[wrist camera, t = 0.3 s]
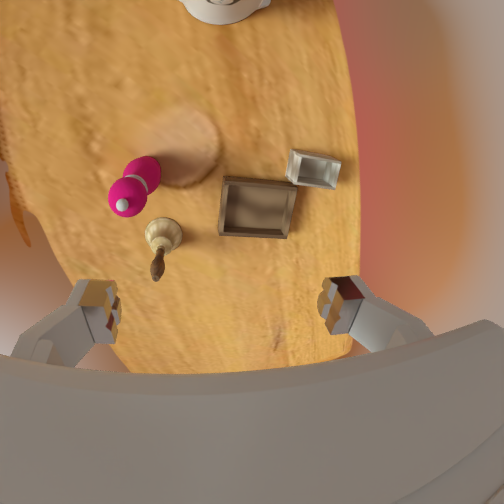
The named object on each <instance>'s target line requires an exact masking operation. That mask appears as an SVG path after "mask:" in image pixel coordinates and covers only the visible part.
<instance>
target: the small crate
mask: <svg viewBox="0 0 504 504" xmlns="http://www.w3.org/2000/svg"><path fill="white" fill-rule="evenodd" d="M340 167H341V161H339V160H337V159H335V158H333V157H331V156H328V155H323V154H318V153H312V152H306V151H301V150H294V149H290V153H289V159H288V164H287V170H286V175H285V177H286V178H288V179H289V180H290V181H291V182H292V183H293V184H295V185H303V186H310V187H318V188H325V189H332V190H335V188H336V184H337V180H338V175H339V171H340Z"/></svg>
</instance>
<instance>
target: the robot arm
mask: <svg viewBox="0 0 504 504" xmlns="http://www.w3.org/2000/svg"><path fill="white" fill-rule="evenodd" d="M179 1H181V2H182V3H183V4H184V5H185V7H186V9H187V10H188V12H189V13H190V14H191V15H192V16H194V17H195V18H197V19H199V20H201V21H203V22H206V23H210V24H218V25H223V24H231V23H235V22H238V21H241V20H243V19H245V18H246V17H248V16H249V15H250V14H251V13H253V12H254V11H255V10H257V9H261V8H264V7H267V6H268V5H269V4H270V2H271V0H179ZM322 288H323V291H322V292H321V293H320V294H319V297H318V301H317V308H318V312H319V314H320V316H321V317H322V318H324V319H326V322H325V325H326V327H327V329H328V331H329V333H330V335H336V334H345V333H349V335H350V336H352V337H353V338H354V339H356V340H357V341H358V342H359V343H361V344H362V345H363V346H364V347H366V348H367V349H368V350H370V351H371V352H372V353H368V354H363V355H359V356H354V357H349V358H344V359H339V360H332V361H326V362H320V363H314V364H307V365H300V366H292V367H284V368H275V369H265V370H255V371H242V372H227V373H205V374H148V373H126V372H111V371H99V370H89V369H80V368H74V367H75V366H76V365H77V364H78V362H79V361H80V360H81V359H82V358H83V357H84V356H85V355H86V354H87V352H88V351H89V350H90V349H91V348H92V347H93V346H94V345H95V343H102V344H115V342H116V338H117V334H118V329H117V325H118V324H119V323H120V321H121V312H122V309H121V302H120V298H119V297H118V296H117V295H116V294H117V291H118V288H117V284H116V282H115V280H97V279H79V280H78V281H77V283H76V285H75V287H74V289H73V291H72V292H71V295H70V297H69V299H68V301H67V303H66V305H62V306H60V307H59V308H57V309H56V310H54V311H53V312H51V313H50V314H49V315H47V316H46V317H44V318H43V319H42V320H40V321H39V322H37V323H36V324H35V325H33V326H32V327H30V328H29V329H28V330H26V331H25V332H24V333H22V334H21V335H20V337H19V339H18V341H17V343H16V345H15V347H14V349H13V352H12V354H11V356H10V357H9V356H6V355H2V354H0V504H504V328H502V327H500V326H499V325H497V324H495V323H493V322H491V321H489V320H480V321H477V322H475V323H472V324H470V325H467V326H464V327H461V328H458V329H455V330H452V331H449V332H446V333H443V334H440V335H437V336H434V335H433V333H432V332H431V331H430V330H429V328H428V327H427V326H426V324H425V323H424V322H423V321H422V320H421V319H419V318H417V317H415V316H413V315H411V314H410V313H408V312H406V311H404V310H402V309H400V308H398V307H396V306H395V305H393V304H391V303H389V302H387V301H385V300H383V299H381V298H379V297H377V298H376V297H375V295H374V294H373V293H372V292H371V290H370V289H369V288H368V287H367V285H366V284H365V283H364V282H363V280H362V279H361V278H360V277H359V276H357V275H353V276H345V277H327V278H325V279H324V280H323V283H322Z"/></svg>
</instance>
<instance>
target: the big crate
mask: <svg viewBox="0 0 504 504" xmlns="http://www.w3.org/2000/svg"><path fill="white" fill-rule="evenodd" d="M297 189H298V188H297V187H296V186H295V185H294V184H293V183H290V182H282V181H273V180H263V179H253V178H242V177H230V176H223V184H222V192H221V201H220V211H219V220H218V233H219V236H238V237H259V238H278V239H287V236H288V231H289V227H290V222H291V217H292V213H293V208H294V203H295V199H296V194H297Z"/></svg>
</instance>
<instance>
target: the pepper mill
mask: <svg viewBox="0 0 504 504" xmlns="http://www.w3.org/2000/svg"><path fill="white" fill-rule="evenodd" d="M160 179H161V168H160V165H159V163H158V162H157V161H156V160H155V159H154V158H152V157H149V156H143V157H140V158H137V159H134V160H133V161H131V162H130V163H129V164H128V165H127V166H126V168H125V170H124V172H123V178H120V179H119V180H117V181H116V182H115V183H114V184H113V185H112V187H111V188H110V191H109V194H108V202H109V205H110V207H111V209H112V210H113V211H114V213H116V214H117V215H119V216H122V217H132V216H135V215H137V214H138V213H140V212H141V211H142V210H143V208H144V206H145V204H146V202H147V195H149V194H151V193H152V192H154V190H155V189H156V188H157V187H158V185H159V183H160Z"/></svg>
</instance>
